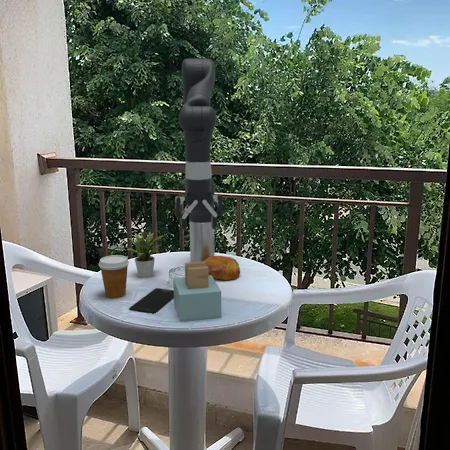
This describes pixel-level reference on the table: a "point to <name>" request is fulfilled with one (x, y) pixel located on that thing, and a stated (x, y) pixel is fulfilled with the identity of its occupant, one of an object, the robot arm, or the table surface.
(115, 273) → the disposable coffee cup
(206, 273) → the walnut cube
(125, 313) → the table surface
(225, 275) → the croissant
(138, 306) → the cell phone
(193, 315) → the stand
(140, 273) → the house plant
